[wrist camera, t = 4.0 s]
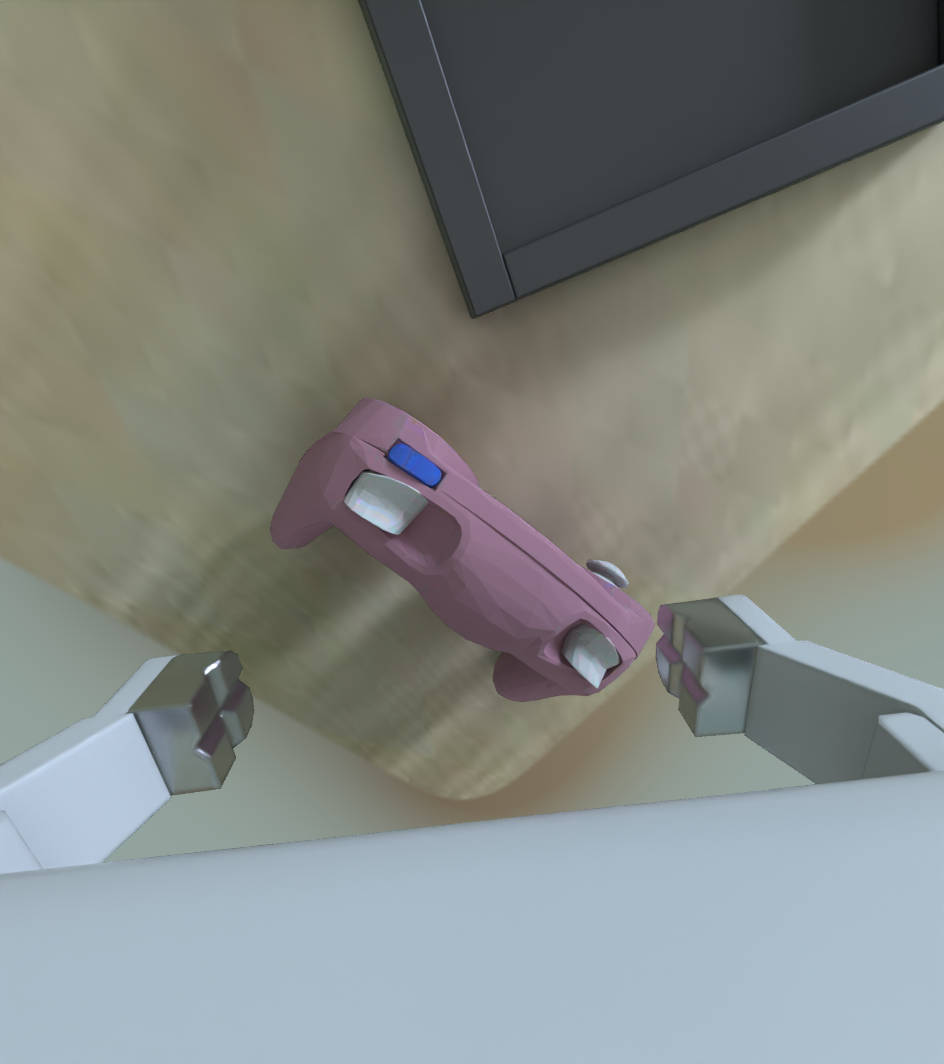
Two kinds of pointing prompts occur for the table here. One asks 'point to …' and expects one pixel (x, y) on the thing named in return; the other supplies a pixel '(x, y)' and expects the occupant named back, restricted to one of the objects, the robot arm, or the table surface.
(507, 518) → the video game controller
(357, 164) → the table surface
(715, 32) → the black rectangular tray
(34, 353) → the table surface
